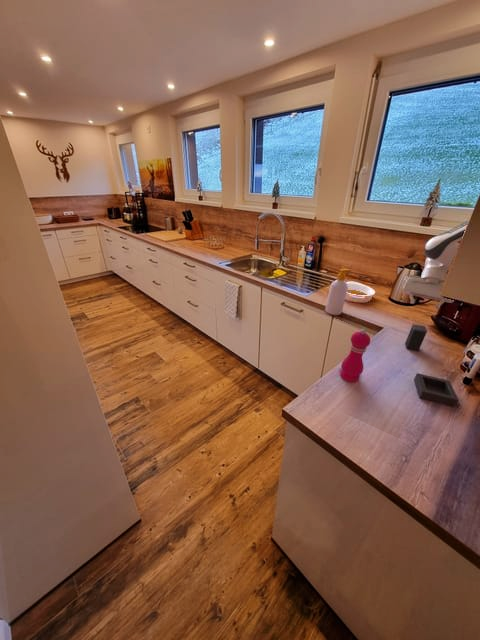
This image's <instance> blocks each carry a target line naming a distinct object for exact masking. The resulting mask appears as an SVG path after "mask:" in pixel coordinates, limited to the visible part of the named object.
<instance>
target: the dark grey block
mask: <svg viewBox="0 0 480 640" xmlns="http://www.w3.org/2000/svg"><path fill="white" fill-rule="evenodd" d="M427 333H428V330H427V328H426V326H425V325H420V324H414V323H412V325H411V328H410V330H409V332H408V335H407V336H406V337H407V338H406V340H405V342H404V345H405V349H406V350H410V351H414V352H419V351H420V348H421V346H422V344H423V342H424V340H425V337H426V335H427Z"/></svg>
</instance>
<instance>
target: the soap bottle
mask: <svg viewBox="0 0 480 640" xmlns="http://www.w3.org/2000/svg"><path fill="white" fill-rule="evenodd" d="M345 272H354V269H350V268H348V269H346V268H340V272H339V273H338V274H337V277H336V279H335V280H333V282H331V284H330V286H329V290H328V295H327V299H326V304H325V308H324V310H325V312H326V314H329V315H332V316H340V315H342V313H343V309H344V304H345V301H346V300H345V297H346V293H347V289H348V286H347V284H346V283H347V281H345V279H346V273H345Z"/></svg>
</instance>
